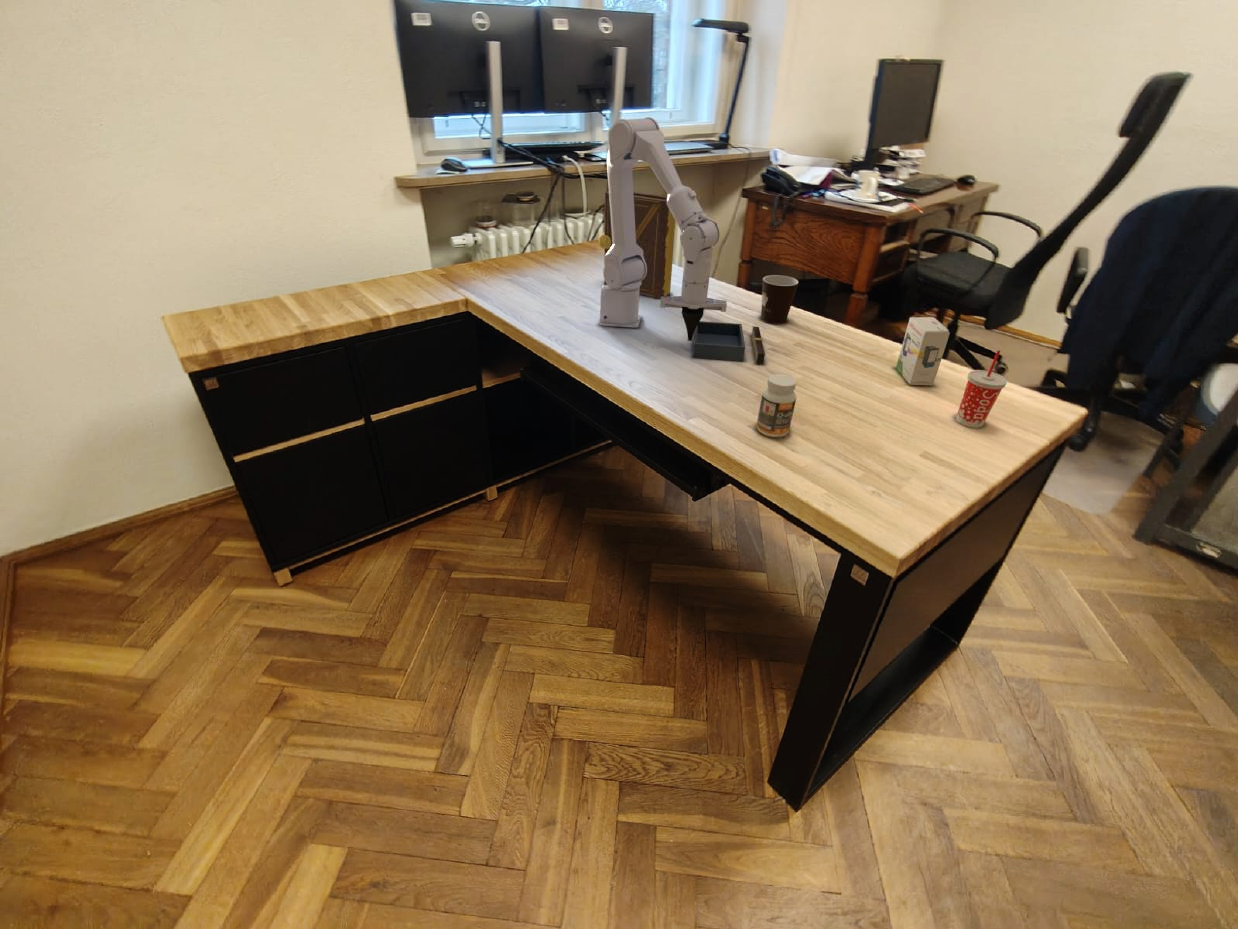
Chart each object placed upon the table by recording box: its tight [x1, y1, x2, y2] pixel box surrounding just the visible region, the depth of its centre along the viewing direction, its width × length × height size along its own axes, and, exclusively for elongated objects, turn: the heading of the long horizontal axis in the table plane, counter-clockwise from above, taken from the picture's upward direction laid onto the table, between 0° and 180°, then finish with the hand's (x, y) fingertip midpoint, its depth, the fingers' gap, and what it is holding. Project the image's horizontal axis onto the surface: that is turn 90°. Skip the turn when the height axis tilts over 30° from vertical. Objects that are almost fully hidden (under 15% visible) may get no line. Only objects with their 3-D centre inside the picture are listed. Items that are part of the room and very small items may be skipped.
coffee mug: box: [760, 274, 799, 325], centre depth 148 cm, size 12×9×10 cm
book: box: [598, 191, 676, 300], centre depth 160 cm, size 22×8×25 cm, turn 58°
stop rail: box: [750, 326, 766, 365], centre depth 133 cm, size 2×16×3 cm, turn 173°
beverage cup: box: [955, 349, 1008, 429], centre depth 104 cm, size 6×6×14 cm
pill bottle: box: [756, 373, 797, 438], centre depth 101 cm, size 6×6×10 cm
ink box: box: [895, 316, 951, 386], centre depth 120 cm, size 9×5×12 cm, turn 178°
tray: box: [692, 320, 746, 362], centre depth 133 cm, size 11×14×3 cm
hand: (689, 339), depth 134 cm, fingers closed
